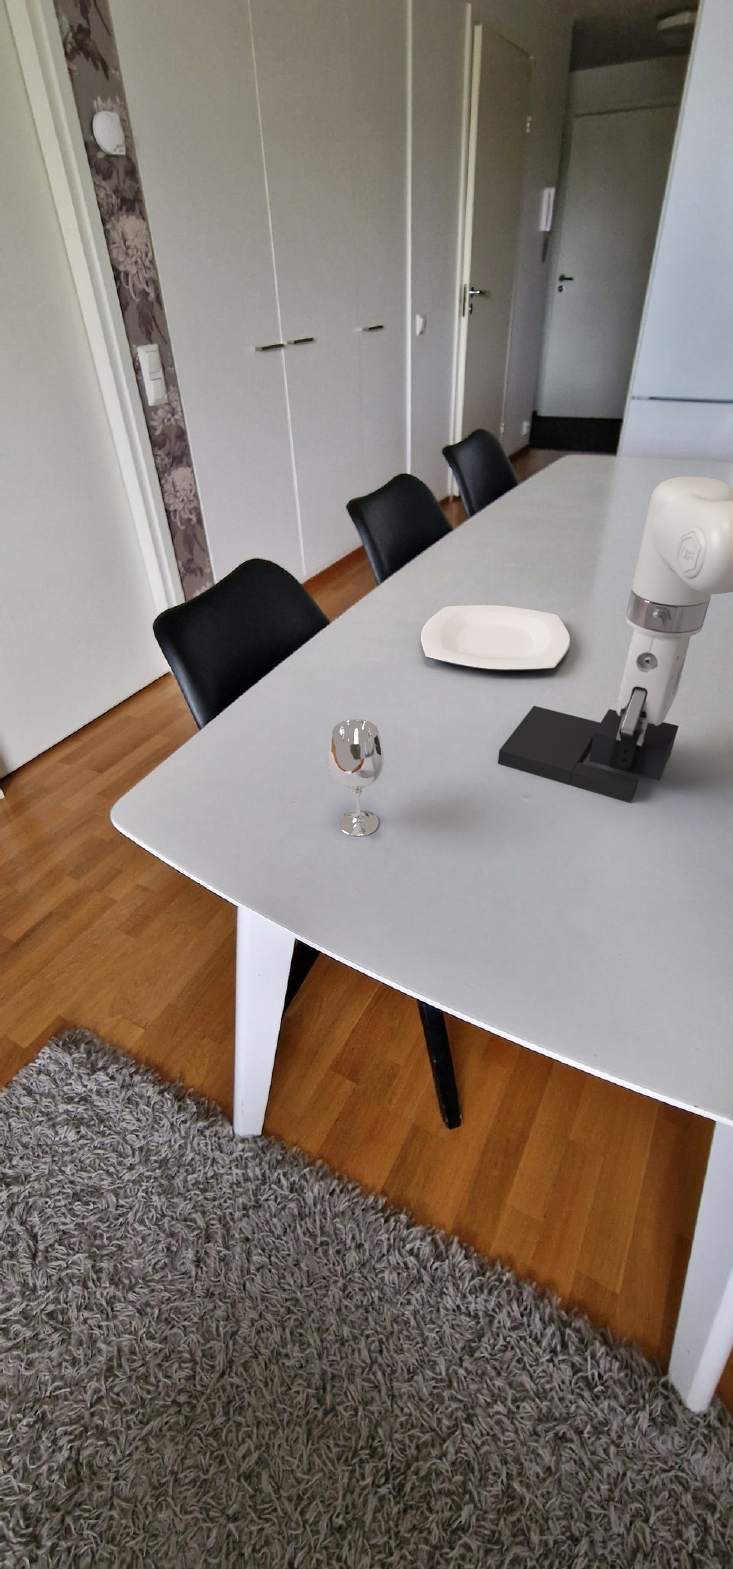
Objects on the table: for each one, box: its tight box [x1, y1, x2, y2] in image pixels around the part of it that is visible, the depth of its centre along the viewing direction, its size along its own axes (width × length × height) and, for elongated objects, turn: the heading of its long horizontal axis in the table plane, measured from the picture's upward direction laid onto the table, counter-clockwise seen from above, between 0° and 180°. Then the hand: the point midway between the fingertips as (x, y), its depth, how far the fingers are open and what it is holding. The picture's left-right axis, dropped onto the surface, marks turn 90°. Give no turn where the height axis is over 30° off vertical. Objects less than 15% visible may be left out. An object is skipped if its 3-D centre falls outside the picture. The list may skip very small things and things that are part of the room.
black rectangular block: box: [588, 708, 679, 781], centre depth 82 cm, size 8×6×4 cm
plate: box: [420, 604, 571, 671], centre depth 111 cm, size 23×23×2 cm
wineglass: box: [327, 718, 385, 837], centre depth 74 cm, size 6×6×12 cm
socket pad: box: [497, 705, 639, 803], centre depth 86 cm, size 16×12×2 cm
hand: (631, 753), depth 82 cm, fingers closed on black rectangular block, 6 cm apart
